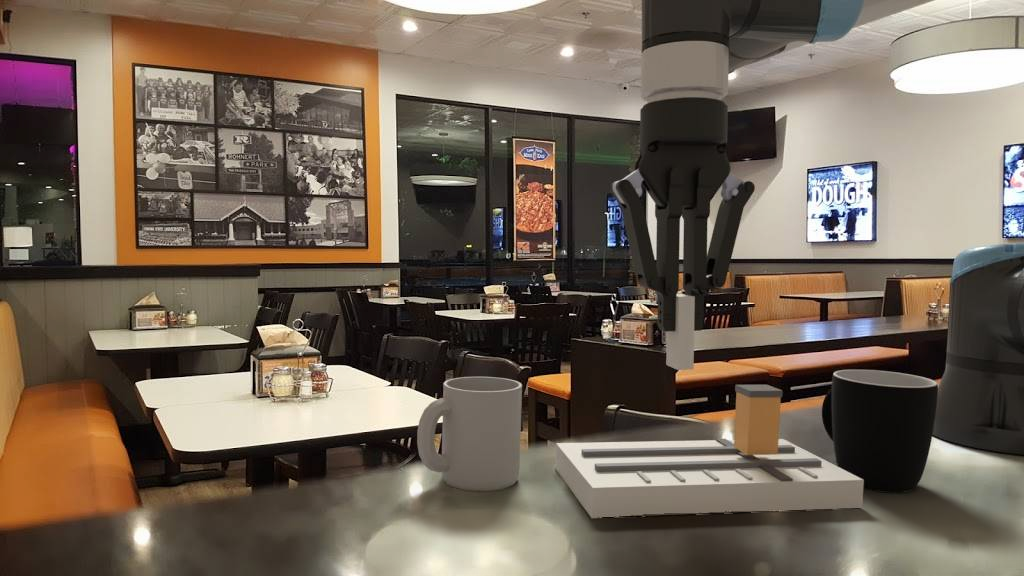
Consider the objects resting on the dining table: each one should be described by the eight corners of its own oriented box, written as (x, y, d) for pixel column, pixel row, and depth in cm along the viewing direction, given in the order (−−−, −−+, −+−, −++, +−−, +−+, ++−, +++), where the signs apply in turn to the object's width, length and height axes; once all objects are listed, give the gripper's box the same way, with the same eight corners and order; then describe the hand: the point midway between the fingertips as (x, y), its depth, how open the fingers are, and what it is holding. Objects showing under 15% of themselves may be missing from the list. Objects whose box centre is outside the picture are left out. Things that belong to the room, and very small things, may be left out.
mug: (954, 494, 67) (961, 385, 67) (876, 502, 65) (883, 388, 64) (856, 456, 79) (861, 363, 78) (786, 462, 76) (791, 365, 75)
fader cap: (763, 446, 70) (766, 384, 69) (779, 454, 67) (782, 390, 66) (732, 446, 69) (735, 384, 69) (746, 455, 66) (749, 390, 66)
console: (781, 462, 76) (783, 434, 75) (862, 508, 63) (864, 474, 63) (555, 468, 72) (556, 438, 71) (591, 518, 59) (592, 481, 59)
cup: (533, 485, 67) (537, 388, 66) (433, 502, 61) (435, 397, 61) (495, 463, 73) (497, 374, 72) (401, 477, 68) (402, 381, 67)
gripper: (733, 111, 69) (728, 358, 71) (600, 107, 67) (598, 362, 69) (774, 96, 62) (767, 372, 64) (626, 91, 60) (623, 377, 61)
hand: (679, 366), depth 66 cm, fingers closed
